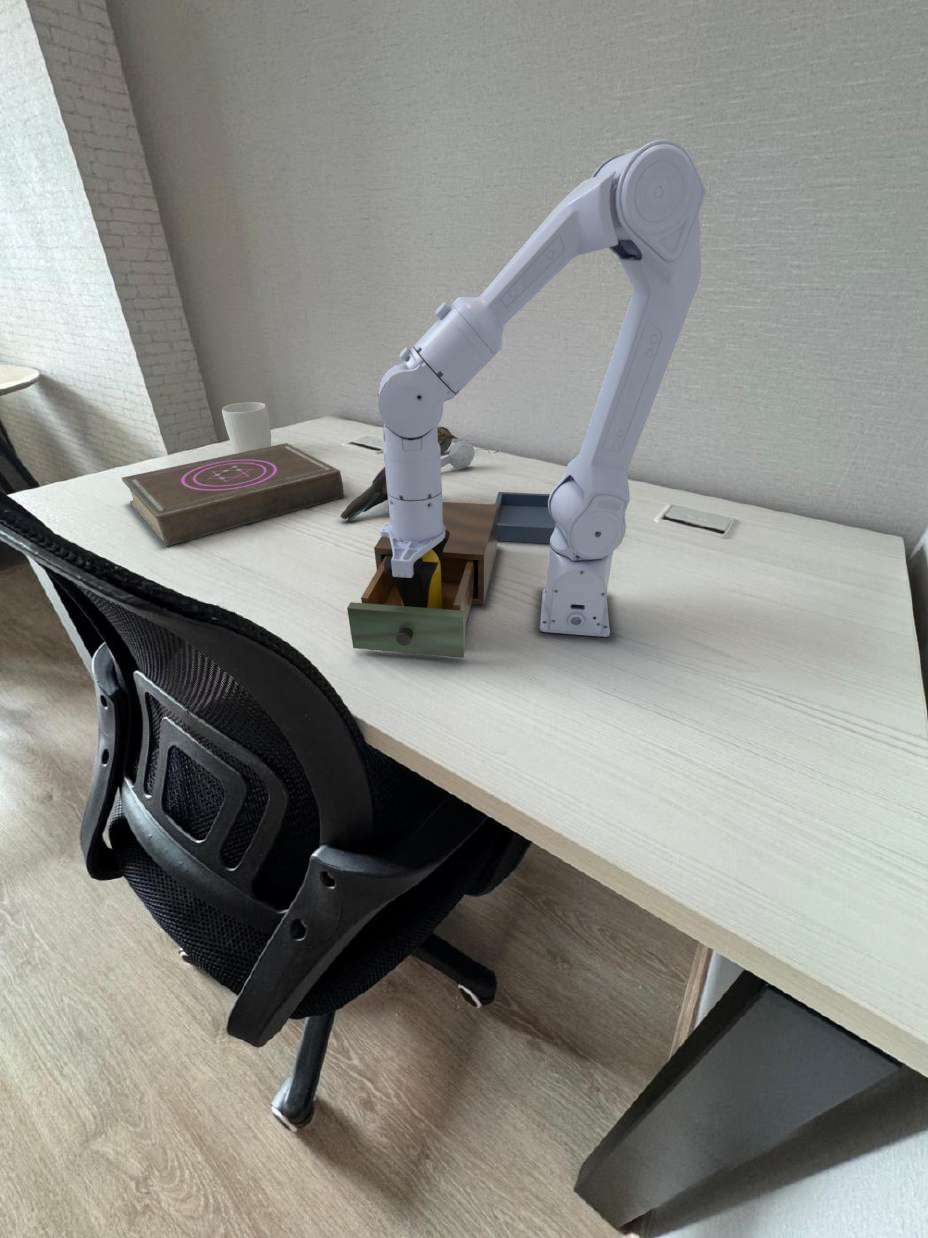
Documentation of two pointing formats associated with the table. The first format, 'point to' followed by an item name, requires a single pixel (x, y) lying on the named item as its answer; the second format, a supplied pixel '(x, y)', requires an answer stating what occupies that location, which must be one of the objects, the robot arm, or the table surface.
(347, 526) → the table surface
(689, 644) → the table surface
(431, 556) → the pepper
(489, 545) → the cabinet
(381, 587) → the drawer
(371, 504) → the bird figurine
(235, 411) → the mug
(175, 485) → the book
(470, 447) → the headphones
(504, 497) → the tray
